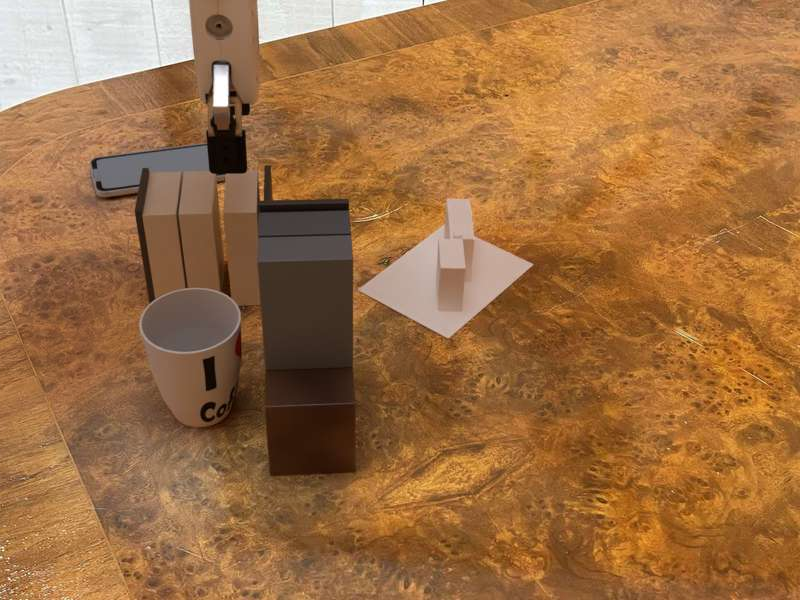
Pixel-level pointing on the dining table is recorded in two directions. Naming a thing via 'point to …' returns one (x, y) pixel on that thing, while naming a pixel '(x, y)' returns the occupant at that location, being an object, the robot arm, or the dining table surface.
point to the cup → (194, 352)
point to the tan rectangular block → (242, 235)
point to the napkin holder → (447, 275)
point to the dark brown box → (310, 420)
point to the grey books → (306, 283)
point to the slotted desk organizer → (182, 230)
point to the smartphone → (126, 169)
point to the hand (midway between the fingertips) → (230, 141)
